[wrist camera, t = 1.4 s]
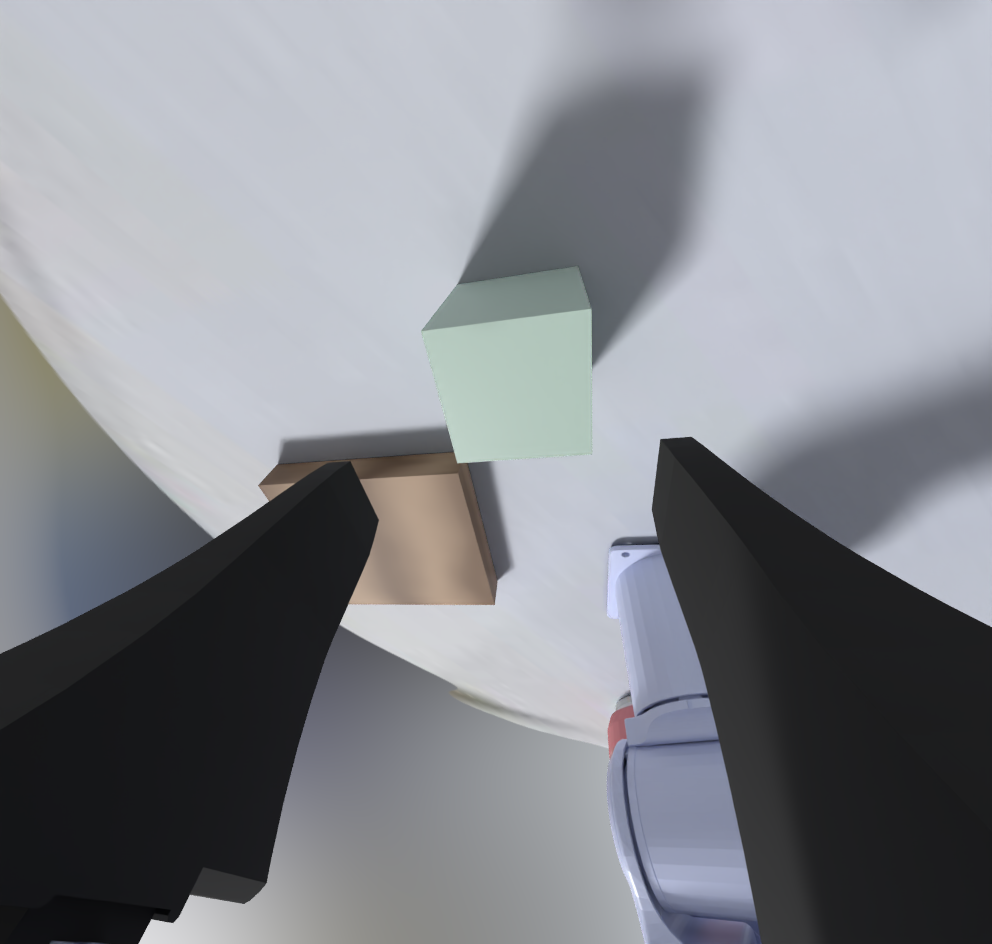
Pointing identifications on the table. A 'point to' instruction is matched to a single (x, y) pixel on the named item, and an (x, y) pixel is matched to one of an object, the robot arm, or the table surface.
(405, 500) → the walnut base
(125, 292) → the table surface
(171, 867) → the robot arm
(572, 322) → the sage block
